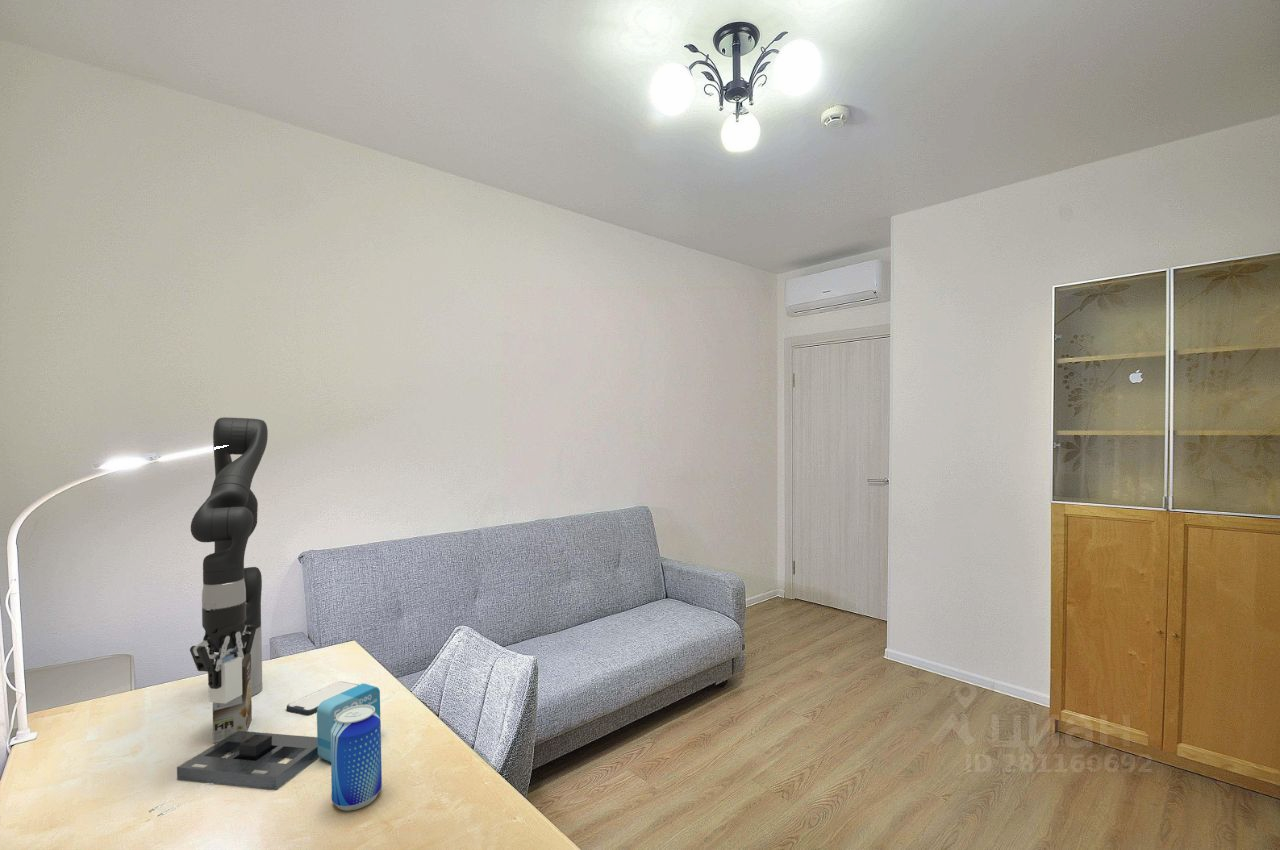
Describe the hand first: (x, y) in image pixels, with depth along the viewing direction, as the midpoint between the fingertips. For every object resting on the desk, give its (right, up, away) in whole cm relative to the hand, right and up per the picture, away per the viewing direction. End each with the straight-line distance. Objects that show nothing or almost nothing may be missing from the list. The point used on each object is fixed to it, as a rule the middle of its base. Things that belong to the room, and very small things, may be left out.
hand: (225, 682), depth 120 cm
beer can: (+35, -16, -14) cm, 40 cm away
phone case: (+6, -17, +28) cm, 33 cm away
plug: (0, -3, 0) cm, 3 cm away
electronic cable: (+1, -17, -12) cm, 21 cm away
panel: (+7, -16, -1) cm, 18 cm away
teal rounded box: (+25, -16, +4) cm, 30 cm away
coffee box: (-7, -17, +12) cm, 22 cm away
